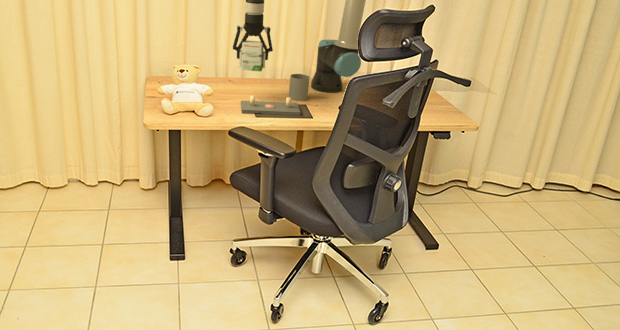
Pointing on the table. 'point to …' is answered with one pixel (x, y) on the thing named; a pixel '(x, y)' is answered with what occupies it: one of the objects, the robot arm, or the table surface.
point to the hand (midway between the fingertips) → (251, 66)
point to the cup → (298, 87)
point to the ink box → (252, 56)
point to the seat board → (270, 107)
